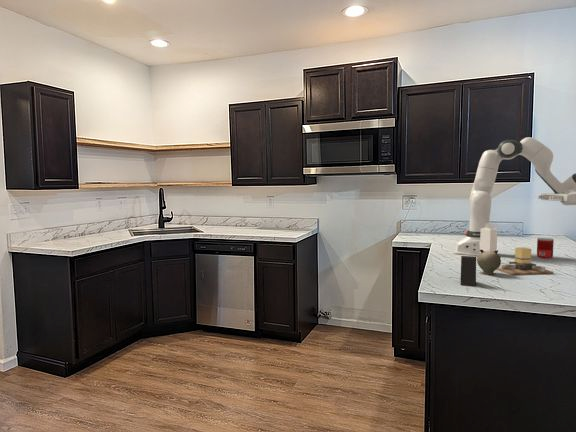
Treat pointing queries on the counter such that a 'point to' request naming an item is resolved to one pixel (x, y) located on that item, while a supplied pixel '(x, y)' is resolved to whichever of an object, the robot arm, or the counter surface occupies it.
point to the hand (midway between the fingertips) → (545, 197)
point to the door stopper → (468, 270)
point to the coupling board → (522, 269)
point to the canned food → (545, 247)
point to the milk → (488, 238)
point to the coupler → (522, 255)
